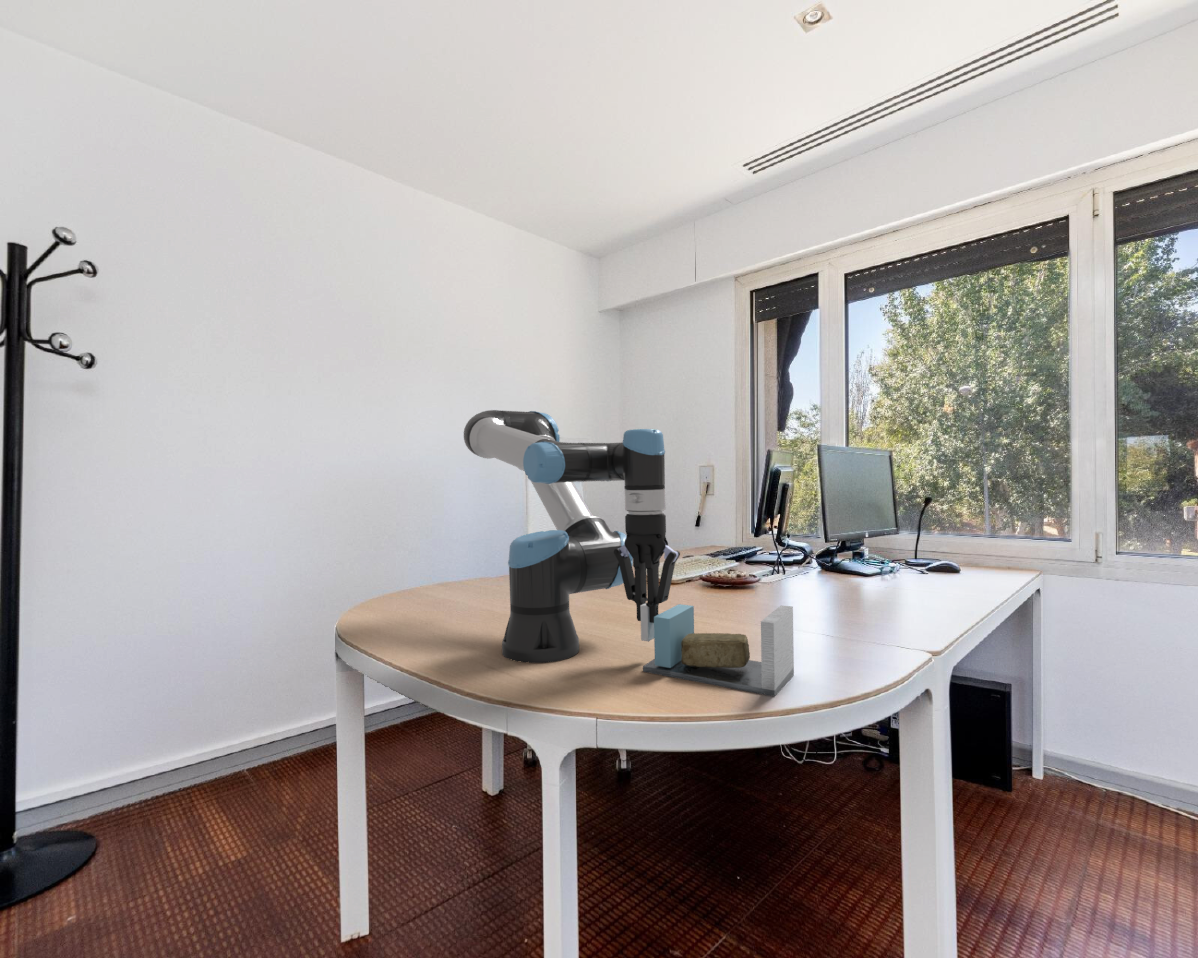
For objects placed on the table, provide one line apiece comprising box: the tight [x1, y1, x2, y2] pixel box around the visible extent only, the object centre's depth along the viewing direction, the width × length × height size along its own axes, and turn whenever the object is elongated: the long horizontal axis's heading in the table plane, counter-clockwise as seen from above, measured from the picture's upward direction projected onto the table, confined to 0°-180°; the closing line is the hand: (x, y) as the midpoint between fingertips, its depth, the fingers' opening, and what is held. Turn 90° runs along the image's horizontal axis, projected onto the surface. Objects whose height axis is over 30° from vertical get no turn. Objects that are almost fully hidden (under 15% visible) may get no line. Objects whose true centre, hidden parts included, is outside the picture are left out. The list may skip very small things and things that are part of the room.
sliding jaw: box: [653, 603, 695, 668], centre depth 105 cm, size 3×11×8 cm, turn 148°
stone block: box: [681, 632, 751, 668], centre depth 100 cm, size 6×12×5 cm, turn 70°
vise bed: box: [642, 605, 795, 697], centre depth 101 cm, size 23×12×12 cm, turn 58°
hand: (648, 638), depth 108 cm, fingers closed
